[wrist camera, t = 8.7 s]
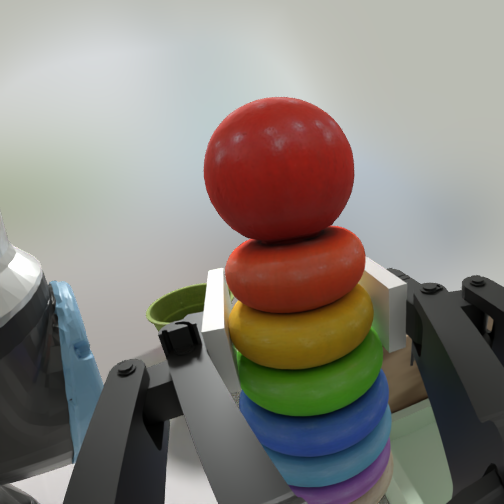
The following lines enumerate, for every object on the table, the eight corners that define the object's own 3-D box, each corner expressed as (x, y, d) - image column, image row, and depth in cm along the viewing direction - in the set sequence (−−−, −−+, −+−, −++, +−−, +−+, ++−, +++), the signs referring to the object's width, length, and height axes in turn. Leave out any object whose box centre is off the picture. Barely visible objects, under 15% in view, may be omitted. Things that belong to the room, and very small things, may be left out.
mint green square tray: (414, 552, 13) (426, 536, 12) (361, 449, 25) (363, 424, 24) (533, 474, 14) (551, 448, 13) (466, 402, 26) (474, 375, 25)
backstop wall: (336, 455, 26) (331, 360, 22) (330, 441, 28) (323, 347, 24) (480, 391, 27) (500, 297, 23) (471, 382, 29) (487, 290, 25)
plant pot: (185, 349, 51) (166, 287, 48) (256, 346, 48) (242, 278, 45) (158, 395, 39) (129, 325, 36) (242, 397, 37) (221, 320, 34)
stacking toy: (412, 505, 11) (431, 57, 6) (259, 548, 11) (94, 103, 6) (365, 417, 18) (334, 105, 14) (247, 446, 18) (162, 137, 13)
